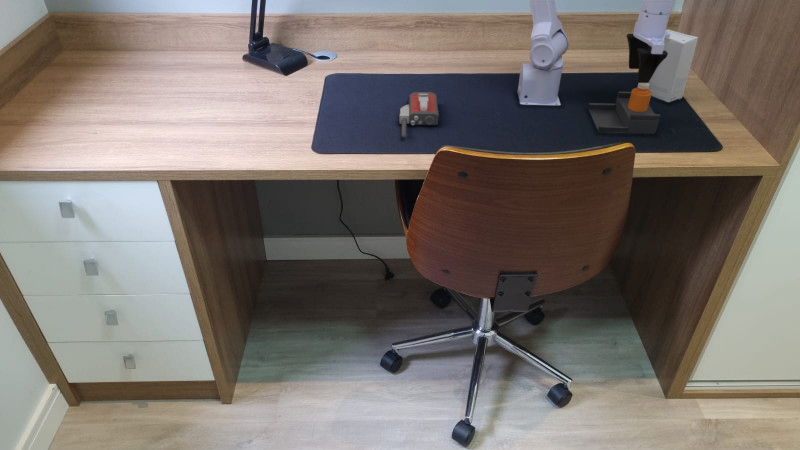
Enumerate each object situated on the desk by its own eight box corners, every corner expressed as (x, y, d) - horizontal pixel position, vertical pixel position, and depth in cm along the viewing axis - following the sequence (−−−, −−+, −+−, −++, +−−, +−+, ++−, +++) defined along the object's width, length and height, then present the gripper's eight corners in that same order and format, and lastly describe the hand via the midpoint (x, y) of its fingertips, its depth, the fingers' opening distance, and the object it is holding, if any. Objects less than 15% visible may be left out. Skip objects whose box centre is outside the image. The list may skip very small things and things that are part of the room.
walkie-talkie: (400, 102, 136) (398, 142, 120) (400, 84, 133) (398, 123, 117) (436, 102, 135) (440, 142, 119) (437, 84, 133) (440, 123, 117)
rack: (597, 134, 122) (602, 114, 119) (587, 110, 131) (591, 90, 128) (654, 135, 121) (660, 115, 118) (640, 111, 131) (645, 91, 128)
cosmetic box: (682, 98, 136) (701, 37, 127) (666, 105, 133) (685, 42, 124) (652, 87, 141) (669, 27, 132) (637, 92, 139) (653, 32, 130)
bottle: (630, 111, 122) (636, 87, 119) (625, 103, 126) (631, 79, 122) (649, 112, 122) (656, 87, 119) (644, 104, 125) (651, 80, 122)
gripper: (687, 22, 107) (667, 89, 115) (665, 0, 119) (648, 63, 127) (649, 21, 108) (632, 88, 116) (630, -1, 119) (616, 62, 127)
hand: (638, 75), depth 121 cm, fingers open, 7 cm apart
